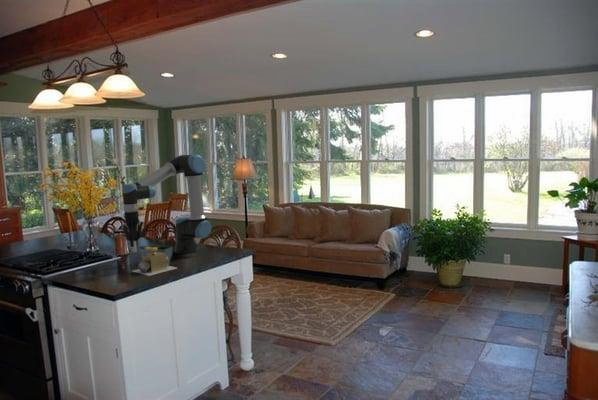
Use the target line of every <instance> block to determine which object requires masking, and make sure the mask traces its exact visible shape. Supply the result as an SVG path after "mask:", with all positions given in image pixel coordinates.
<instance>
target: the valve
mask: <svg viewBox="0 0 598 400" xmlns="http://www.w3.org/2000/svg"><path fill="white" fill-rule="evenodd" d="M170 264H171V259H169V257H167V256H166V253H162V252H156V251H154V252H149V253H145V254H141V260H140V261H139V263H138V264H137V265H138V266H137V267H138V269H139V270H140V271H142V272H143V273H145V272H151V273H152V272H156V271H160V270H164V269H167V266H170Z"/></svg>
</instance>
